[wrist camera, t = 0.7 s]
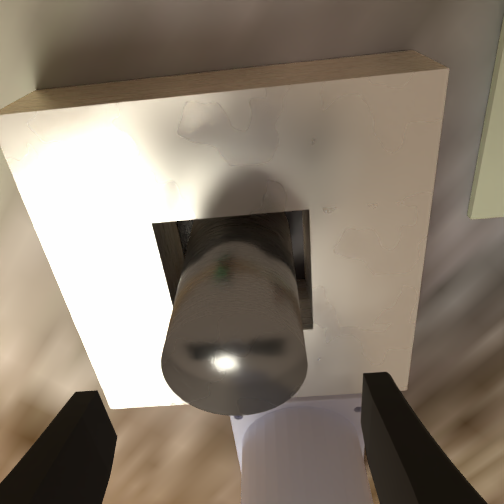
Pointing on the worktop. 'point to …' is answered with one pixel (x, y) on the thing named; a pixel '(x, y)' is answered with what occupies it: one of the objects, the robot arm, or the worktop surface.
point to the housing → (237, 202)
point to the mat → (491, 150)
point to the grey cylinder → (236, 318)
